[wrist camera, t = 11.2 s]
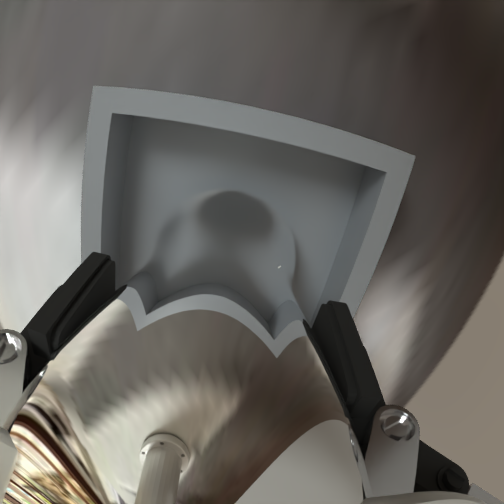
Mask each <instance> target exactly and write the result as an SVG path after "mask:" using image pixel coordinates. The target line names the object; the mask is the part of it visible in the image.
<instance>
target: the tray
mask: <svg viewBox="0 0 504 504" xmlns="http://www.w3.org/2000/svg"><path fill="white" fill-rule="evenodd" d="M415 157H416V156H414V155H411V154H409V153H406V152H404V151H401V150H399V149H396V148H393V147H390V146H388V145H385V144H382V143H379V142H376V141H374V140H371V139H368V138H365V137H362V136H359V135H356V134H353V133H349V132H346V131H343V130H340V129H337V128H333V127H330V126H326V125H323V124H320V123H316V122H312V121H309V120H305V119H301V118H298V117H294V116H290V115H286V114H282V113H278V112H273V111H269V110H265V109H260V108H256V107H251V106H246V105H242V104H237V103H232V102H226V101H221V100H215V99H210V98H204V97H197V96H191V95H184V94H177V93H170V92H162V91H153V90H144V89H134V88H122V87H107V86H93V92H92V98H91V104H90V111H89V118H88V126H87V134H86V143H85V154H84V166H83V180H82V202H81V262H82V263H83V262H84V260H85V259H86V258H87V257H88V256H89V255H90V254H91V253H92V252H98V253H102V254H106V255H110V257H111V260H112V261H115V291H116V290H117V289H118V288H119V287H121V286H122V285H123V284H124V283H125V282H127V281H128V280H129V279H130V278H131V277H132V276H134V275H135V274H136V273H137V272H138V271H139V270H140V269H141V268H142V267H143V266H144V265H146V263H147V262H148V261H149V260H150V258H151V256H152V252H153V247H154V243H155V239H156V236H157V233H158V230H159V228H160V226H161V224H162V222H163V220H164V219H165V217H166V216H167V214H168V213H169V212H170V211H171V210H172V209H173V208H174V207H175V206H176V205H177V204H178V203H179V202H181V201H182V200H184V199H185V198H187V197H189V196H191V195H193V194H196V193H198V192H201V191H205V190H210V189H217V188H228V189H236V190H241V191H245V192H248V193H250V194H253V195H255V196H257V197H259V198H261V199H263V200H264V201H266V202H267V203H269V204H270V205H271V206H272V207H273V208H275V209H276V210H277V211H278V212H279V213H280V215H281V216H282V217H283V218H284V220H285V221H286V223H287V225H288V226H289V228H290V231H291V233H292V236H293V239H294V243H295V249H296V267H295V274H294V279H293V286H292V288H293V292H294V296H295V298H296V300H297V302H298V304H299V306H300V308H301V310H302V312H303V314H304V316H305V318H306V320H307V322H308V324H309V326H310V328H312V326H313V323H314V321H315V319H316V316H317V314H318V311H319V309H320V307H321V305H322V304H327V302H328V301H330V300H331V301H337V302H343V303H346V304H347V305H348V308H349V310H350V313H351V315H352V318H354V316H355V314H356V311H357V309H358V307H359V305H360V303H361V300H362V298H363V296H364V294H365V292H366V289H367V287H368V285H369V282H370V280H371V278H372V275H373V273H374V271H375V268H376V266H377V263H378V261H379V258H380V256H381V253H382V251H383V248H384V246H385V243H386V241H387V238H388V236H389V233H390V230H391V228H392V225H393V222H394V220H395V217H396V214H397V211H398V209H399V206H400V203H401V200H402V197H403V194H404V191H405V188H406V185H407V182H408V179H409V176H410V173H411V170H412V167H413V163H414V160H415Z"/></svg>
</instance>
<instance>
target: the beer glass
mask: <svg viewBox="0 0 504 504" xmlns="http://www.w3.org/2000/svg"><path fill="white" fill-rule="evenodd" d="M295 267H296V249H295V243H294V239H293V236H292V233H291V231H290V228H289V226H288V225H287V223H286V221H285V220H284V218H283V217H282V216H281V215H280V213H279V212H278V211H277V210H276V209H275V208H273V207H272V206H271V205H270V204H269V203H267V202H266V201H264V200H263V199H261V198H259V197H257V196H255V195H253V194H250V193H248V192H245V191H241V190H236V189H228V188H217V189H210V190H205V191H201V192H198V193H196V194H193V195H191V196H189V197H187V198H185V199H184V200H182V201H181V202H179V203H178V204H177V205H176V206H175V207H174V208H173V209H172V210H171V211H170V212H169V213H168V214H167V216H166V217H165V219H164V220H163V222H162V224H161V226H160V228H159V230H158V233H157V236H156V239H155V243H154V247H153V252H152V256H151V258H150V260H149V261H148V262H147V263H146V265H144V266H143V267H142V268H141V269H140V270H139V271H138V272H137V273H136V274H135V275H134V276H132V277H131V278H130V279H129V280H128V281H127V282H125V283H124V284H123V285H122V286H121V287H119V288H118V289H117V290H116V291H115V292H114V293H113V294H111V295H110V296H109V297H108V298H107V299H106V300H105V301H104V302H103V303H101V304H100V305H99V306H98V307H97V308H96V309H95V310H94V311H93V312H92V313H91V314H89V315H88V316H87V317H86V318H85V319H84V320H83V321H82V322H81V323H80V324H79V325H78V326H77V327H76V328H75V329H74V330H73V331H72V332H71V333H70V335H69V336H68V337H67V338H66V339H65V340H64V341H63V342H62V343H61V344H60V345H59V347H58V348H57V349H56V350H55V351H54V352H53V353H52V354H51V355H50V357H49V358H48V359H47V360H46V361H45V362H44V363H43V365H42V366H41V367H40V368H39V370H38V371H37V373H36V374H35V376H34V377H33V379H32V380H31V382H30V383H29V385H28V386H27V388H26V389H25V391H24V392H23V394H22V395H21V397H20V398H19V400H18V401H17V403H16V404H15V406H14V408H13V409H12V411H11V412H10V414H9V415H8V417H7V419H6V420H5V422H4V424H3V426H2V428H3V429H5V430H7V431H8V432H9V435H10V437H11V439H12V441H13V443H14V445H15V447H16V448H17V450H18V451H17V454H16V457H15V459H14V462H13V465H12V467H11V470H10V473H9V476H8V479H7V481H6V484H5V487H4V491H3V495H2V499H1V504H361V503H362V502H363V501H364V500H365V499H366V498H370V497H373V495H372V490H371V486H370V482H369V478H368V474H367V470H366V466H365V462H364V458H363V454H362V451H361V447H360V443H359V439H358V436H357V432H356V429H355V426H354V423H353V421H352V418H351V416H350V413H349V411H348V408H347V406H346V403H345V401H344V398H343V396H342V393H341V391H340V388H339V386H338V383H337V381H336V378H335V376H334V374H333V372H332V370H331V368H330V366H329V364H328V362H327V360H326V357H325V355H324V353H323V351H322V349H321V347H320V345H319V343H318V341H317V339H316V337H315V335H314V333H313V331H312V329H311V328H310V326H309V324H308V322H307V320H306V318H305V316H304V314H303V312H302V310H301V308H300V306H299V304H298V302H297V300H296V298H295V296H294V292H293V288H292V286H293V279H294V274H295Z"/></svg>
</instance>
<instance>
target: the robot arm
mask: <svg viewBox="0 0 504 504" xmlns="http://www.w3.org/2000/svg"><path fill="white" fill-rule="evenodd" d="M114 292H115V261H112V260H111V257H110V255H106V254H102V253H98V252H92V253H91V254H90V255H89V256H88V257H87V258H86V259H85V260H84V262H83V263H82V264H81V265H80V266H79V267H78V268H77V269H76V270H75V271H74V273H73V274H72V275H71V276H70V277H69V278H68V279H67V280H66V282H65V283H64V284H63V285H61V286H60V287H58V288H57V290H56V291H55V292H54V293H53V294H52V295H51V297H50V298H49V299H48V300H47V301H46V302H45V304H44V305H43V306H42V307H41V308H40V310H39V311H38V312H37V313H36V315H35V316H34V317H33V318H32V319H31V321H30V322H29V323H28V324H27V326H26V327H25V328H24V330H23V331H22V332H21V333H19V332H16V331H14V330H9V329H4V330H0V504H1V499H2V495H3V491H4V487H5V484H6V481H7V479H8V476H9V473H10V470H11V467H12V465H13V462H14V459H15V457H16V454H17V451H18V450H17V448H16V447H15V445H14V443H13V441H12V439H11V437H10V435H9V432H8V431H7V430H5V429H3V428H2V426H3V424H4V422H5V420H6V419H7V417H8V415H9V414H10V412H11V411H12V409H13V408H14V406H15V404H16V403H17V401H18V400H19V398H20V397H21V395H22V394H23V392H24V391H25V389H26V388H27V386H28V385H29V383H30V382H31V380H32V379H33V377H34V376H35V374H36V373H37V371H38V370H39V368H40V367H41V366H42V365H43V363H44V362H45V361H46V360H47V359H48V358H49V357H50V355H51V354H52V353H53V352H54V351H55V350H56V349H57V348H58V347H59V345H60V344H61V343H62V342H63V341H64V340H65V339H66V338H67V337H68V336H69V335H70V333H71V332H72V331H73V330H74V329H75V328H76V327H77V326H78V325H79V324H80V323H81V322H82V321H83V320H84V319H85V318H86V317H87V316H88V315H89V314H91V313H92V312H93V311H94V310H95V309H96V308H97V307H98V306H99V305H100V304H101V303H103V302H104V301H105V300H106V299H107V298H108V297H109V296H110V295H111V294H113V293H114ZM311 329H312V331H313V333H314V335H315V337H316V339H317V341H318V343H319V345H320V347H321V349H322V351H323V353H324V355H325V357H326V360H327V362H328V364H329V366H330V368H331V370H332V372H333V374H334V376H335V378H336V381H337V383H338V386H339V388H340V391H341V393H342V396H343V398H344V401H345V403H346V406H347V408H348V411H349V413H350V416H351V418H352V421H353V423H354V426H355V429H356V432H357V436H358V439H359V443H360V447H361V451H362V454H363V458H364V462H365V466H366V470H367V474H368V478H369V482H370V486H371V490H372V495H373V497H370V498H366V499H365V500H364V501H363V502H362V503H361V504H504V502H502V501H501V500H499V499H497V498H496V497H494V496H493V495H491V494H489V493H488V492H486V491H485V490H483V489H482V488H480V487H479V486H477V485H476V484H474V483H472V484H470V485H469V480H468V477H467V475H466V473H465V472H464V470H463V469H462V468H461V467H460V466H458V465H457V464H455V463H454V462H452V461H451V460H449V459H448V458H446V457H445V456H443V455H442V454H440V453H439V452H437V451H435V450H434V449H432V448H431V447H429V446H428V445H426V444H425V443H423V442H422V441H421V440H419V436H420V428H419V424H418V422H417V420H416V418H415V417H414V416H413V414H412V413H410V412H409V411H408V410H407V409H405V408H403V407H400V406H397V405H385V402H384V399H383V396H382V393H381V390H380V387H379V384H378V382H377V379H376V376H375V373H374V370H373V368H372V365H371V362H370V359H369V357H368V354H367V351H366V349H365V347H364V346H363V344H362V341H361V339H360V336H359V333H358V331H357V328H356V326H355V323H354V320H353V318H352V315H351V313H350V310H349V308H348V305H347V304H346V303H343V302H337V301H331V300H330V301H328V302H327V304H322V305H321V307H320V309H319V311H318V314H317V316H316V319H315V321H314V323H313V326H312V328H311Z"/></svg>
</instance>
